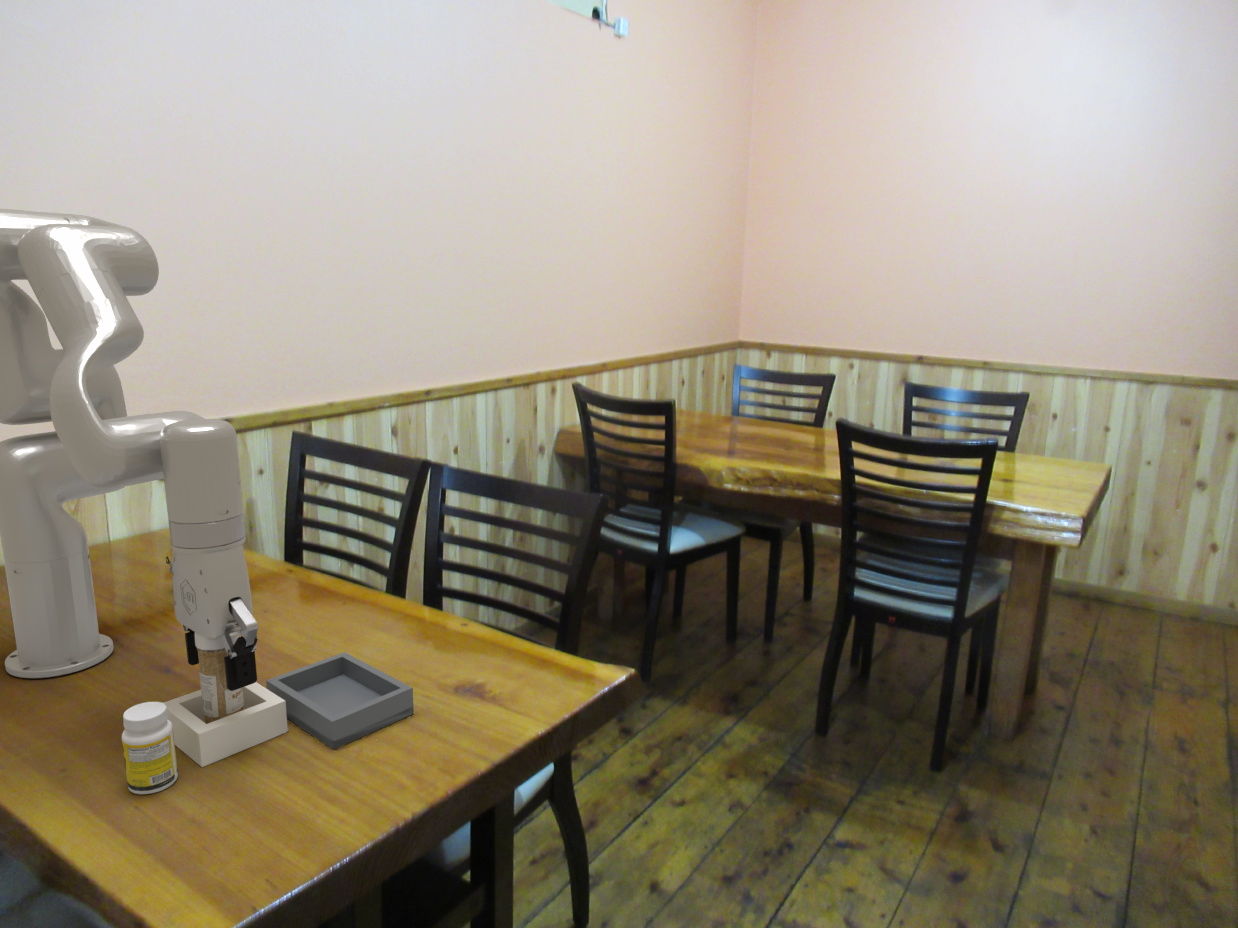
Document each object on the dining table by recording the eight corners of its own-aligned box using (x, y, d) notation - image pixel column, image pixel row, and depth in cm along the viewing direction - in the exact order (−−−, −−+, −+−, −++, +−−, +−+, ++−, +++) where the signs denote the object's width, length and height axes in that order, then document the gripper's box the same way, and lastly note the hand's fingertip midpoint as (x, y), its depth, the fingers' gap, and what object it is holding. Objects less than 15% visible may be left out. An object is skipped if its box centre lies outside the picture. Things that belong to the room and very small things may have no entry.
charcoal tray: (268, 705, 106) (266, 680, 105) (345, 675, 114) (344, 651, 113) (334, 749, 96) (332, 721, 96) (413, 713, 105) (412, 687, 104)
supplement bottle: (140, 770, 92) (132, 699, 90) (185, 768, 92) (178, 698, 90) (118, 796, 87) (109, 722, 85) (166, 795, 87) (158, 721, 86)
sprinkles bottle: (250, 736, 99) (241, 629, 96) (207, 747, 96) (197, 637, 93) (243, 719, 102) (234, 615, 99) (201, 729, 100) (191, 623, 97)
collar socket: (163, 734, 99) (159, 703, 98) (246, 703, 106) (244, 674, 105) (202, 767, 92) (198, 734, 92) (287, 731, 100) (285, 700, 99)
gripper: (140, 523, 97) (156, 662, 100) (209, 554, 86) (224, 709, 89) (206, 510, 102) (219, 642, 106) (279, 538, 91) (291, 684, 95)
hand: (222, 673), depth 97 cm, fingers open, 9 cm apart
